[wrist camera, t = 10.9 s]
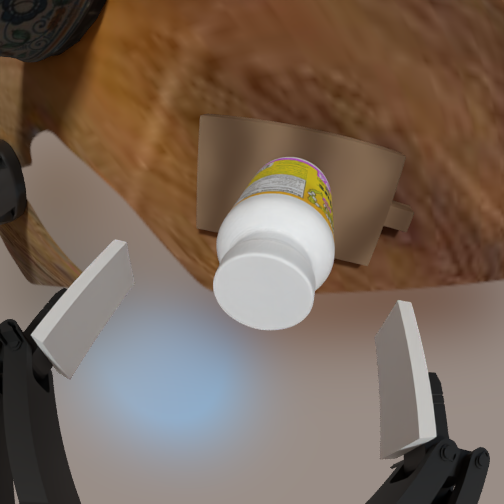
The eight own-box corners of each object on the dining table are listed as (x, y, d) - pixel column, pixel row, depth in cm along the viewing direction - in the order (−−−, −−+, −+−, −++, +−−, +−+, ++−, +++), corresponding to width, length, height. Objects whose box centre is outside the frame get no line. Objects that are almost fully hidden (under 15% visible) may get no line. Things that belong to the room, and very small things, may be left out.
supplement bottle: (327, 230, 24) (323, 351, 14) (254, 224, 25) (204, 333, 15) (334, 156, 20) (347, 242, 10) (251, 152, 22) (181, 227, 11)
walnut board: (202, 221, 28) (196, 228, 27) (206, 113, 22) (200, 115, 21) (386, 262, 26) (389, 271, 25) (424, 161, 19) (430, 165, 18)
